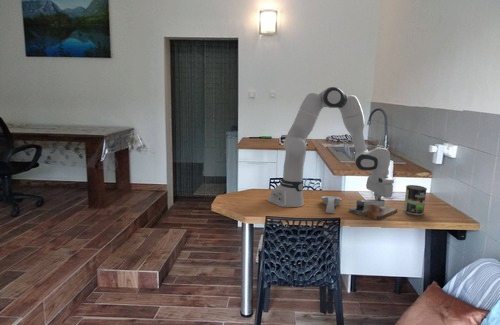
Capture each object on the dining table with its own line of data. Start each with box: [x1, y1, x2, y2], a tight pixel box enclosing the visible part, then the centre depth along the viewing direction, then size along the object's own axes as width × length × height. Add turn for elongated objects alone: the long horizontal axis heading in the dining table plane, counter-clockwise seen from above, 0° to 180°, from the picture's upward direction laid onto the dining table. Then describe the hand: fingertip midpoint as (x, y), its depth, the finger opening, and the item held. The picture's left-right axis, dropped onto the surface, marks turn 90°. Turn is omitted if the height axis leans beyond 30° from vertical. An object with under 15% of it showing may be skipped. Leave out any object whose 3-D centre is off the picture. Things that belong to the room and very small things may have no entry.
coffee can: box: [403, 184, 427, 216], centre depth 205 cm, size 10×10×14 cm
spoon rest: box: [321, 195, 343, 215], centre depth 210 cm, size 24×12×7 cm, turn 167°
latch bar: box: [355, 198, 386, 208], centre depth 204 cm, size 16×4×4 cm, turn 105°
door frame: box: [348, 204, 398, 221], centre depth 204 cm, size 17×21×6 cm
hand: (377, 201), depth 208 cm, fingers closed
